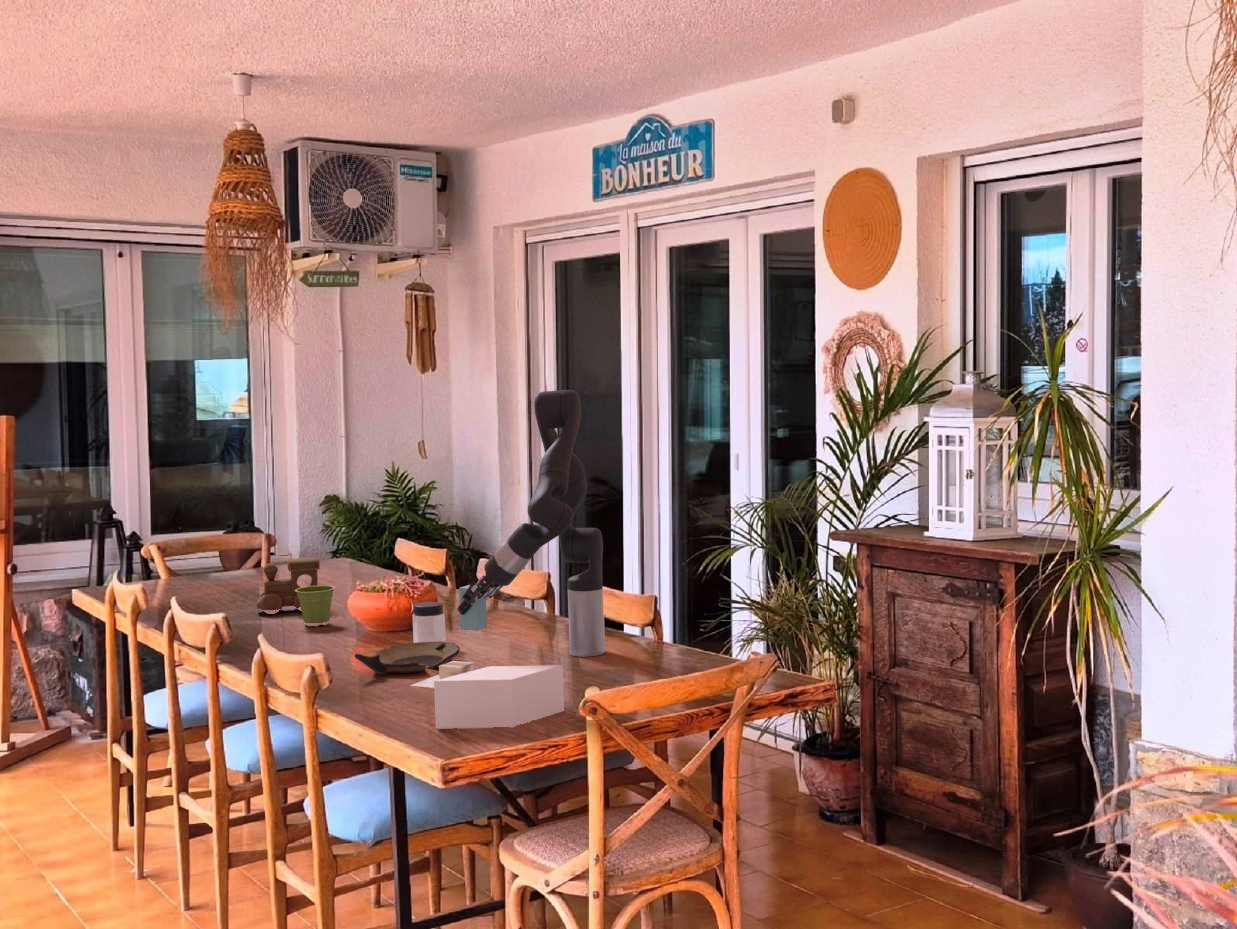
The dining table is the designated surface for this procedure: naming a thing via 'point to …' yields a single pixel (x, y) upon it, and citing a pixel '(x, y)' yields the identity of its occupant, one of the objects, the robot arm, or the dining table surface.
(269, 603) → the wooden toy train
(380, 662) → the oil lamp
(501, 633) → the dining table surface
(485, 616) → the tall block
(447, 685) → the wide white block
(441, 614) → the jar
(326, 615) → the plant pot
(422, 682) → the build board
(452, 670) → the lower block
